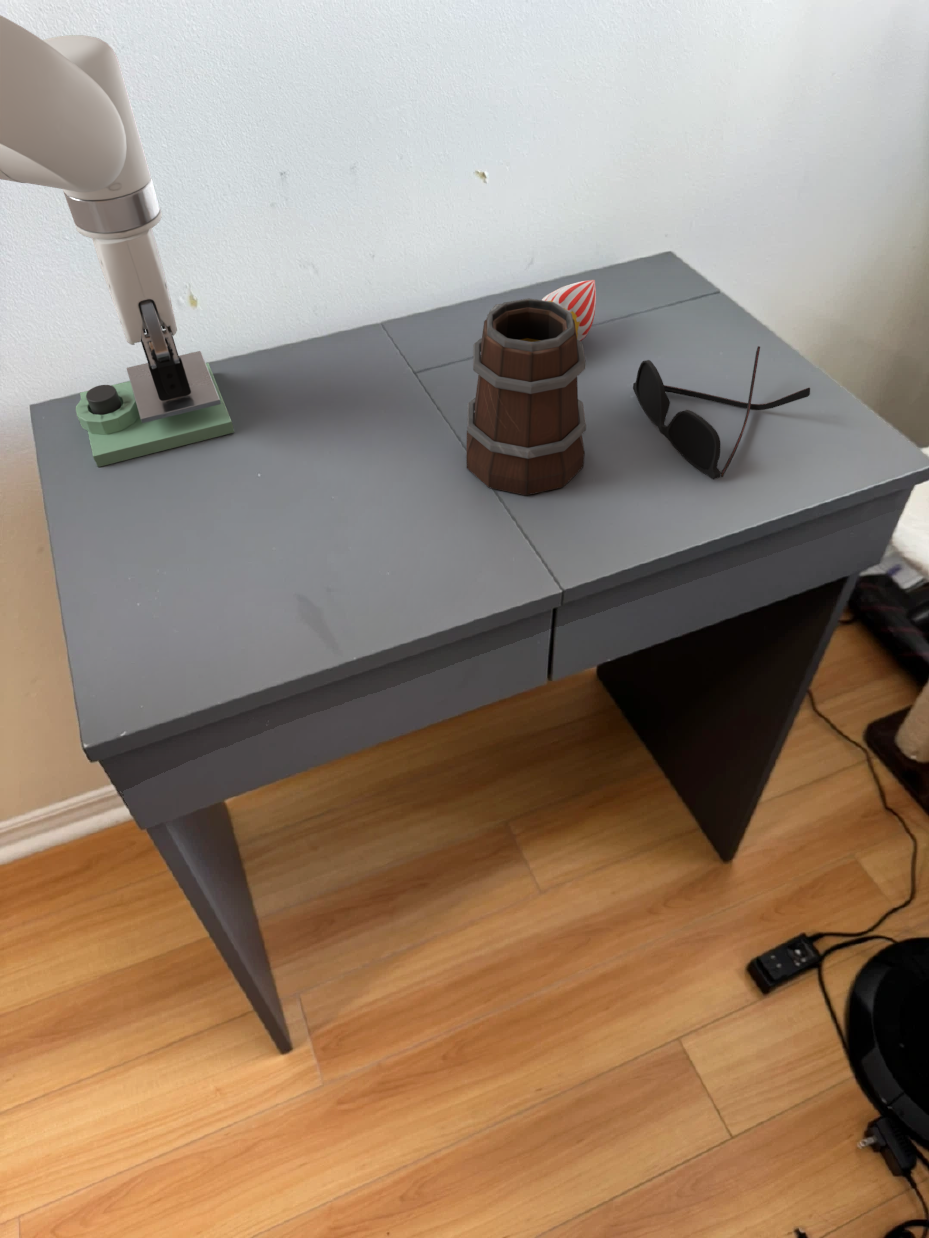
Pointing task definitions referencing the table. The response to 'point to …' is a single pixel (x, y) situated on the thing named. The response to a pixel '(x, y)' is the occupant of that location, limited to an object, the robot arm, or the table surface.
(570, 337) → the wooden bucket
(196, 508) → the table surface
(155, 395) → the brushed metal plate
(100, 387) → the button
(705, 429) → the sunglasses
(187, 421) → the scale
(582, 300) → the ice cream cone
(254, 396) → the table surface
